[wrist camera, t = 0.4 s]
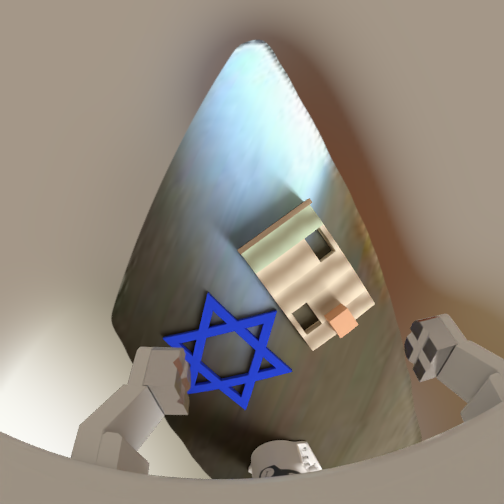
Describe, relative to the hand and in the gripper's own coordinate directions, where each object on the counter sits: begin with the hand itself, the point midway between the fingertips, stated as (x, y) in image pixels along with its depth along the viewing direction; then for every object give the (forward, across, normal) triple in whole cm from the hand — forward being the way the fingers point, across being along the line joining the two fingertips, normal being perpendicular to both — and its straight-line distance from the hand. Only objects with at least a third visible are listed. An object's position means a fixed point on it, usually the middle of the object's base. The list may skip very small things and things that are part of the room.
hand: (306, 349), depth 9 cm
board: (+43, +12, -29) cm, 53 cm away
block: (+37, +17, -35) cm, 53 cm away
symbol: (+37, -7, -44) cm, 58 cm away
